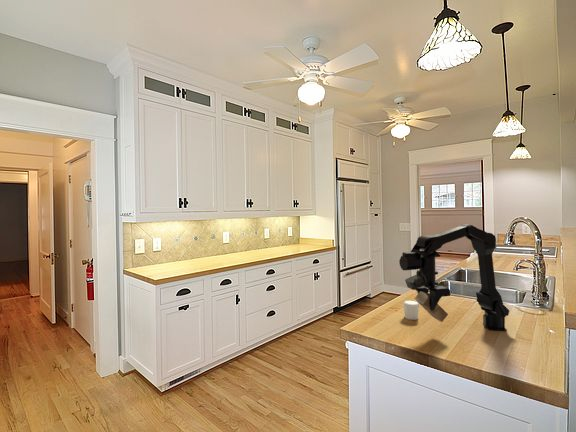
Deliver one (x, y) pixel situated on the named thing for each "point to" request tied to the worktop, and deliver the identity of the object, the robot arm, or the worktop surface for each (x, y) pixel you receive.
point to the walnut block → (425, 303)
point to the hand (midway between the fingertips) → (427, 308)
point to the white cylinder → (411, 309)
